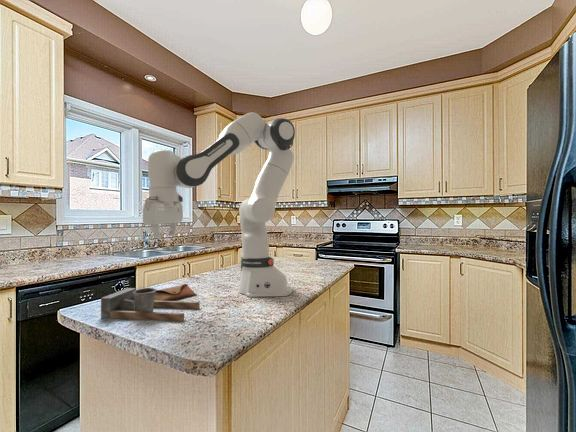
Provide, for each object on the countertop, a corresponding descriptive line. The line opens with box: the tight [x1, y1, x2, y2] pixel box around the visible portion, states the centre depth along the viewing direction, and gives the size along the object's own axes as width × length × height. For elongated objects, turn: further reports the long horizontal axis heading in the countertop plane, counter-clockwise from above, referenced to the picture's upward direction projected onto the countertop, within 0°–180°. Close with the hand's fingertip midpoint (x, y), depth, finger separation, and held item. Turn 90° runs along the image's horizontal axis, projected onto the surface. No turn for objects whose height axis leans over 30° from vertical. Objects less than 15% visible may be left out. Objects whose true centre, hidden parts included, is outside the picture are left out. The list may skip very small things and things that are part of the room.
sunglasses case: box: [154, 283, 198, 301], centre depth 109 cm, size 18×7×7 cm
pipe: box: [119, 287, 158, 312], centre depth 90 cm, size 6×13×8 cm, turn 73°
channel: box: [100, 287, 200, 322], centre depth 92 cm, size 26×12×6 cm, turn 84°
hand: (165, 236), depth 100 cm, fingers open, 8 cm apart
